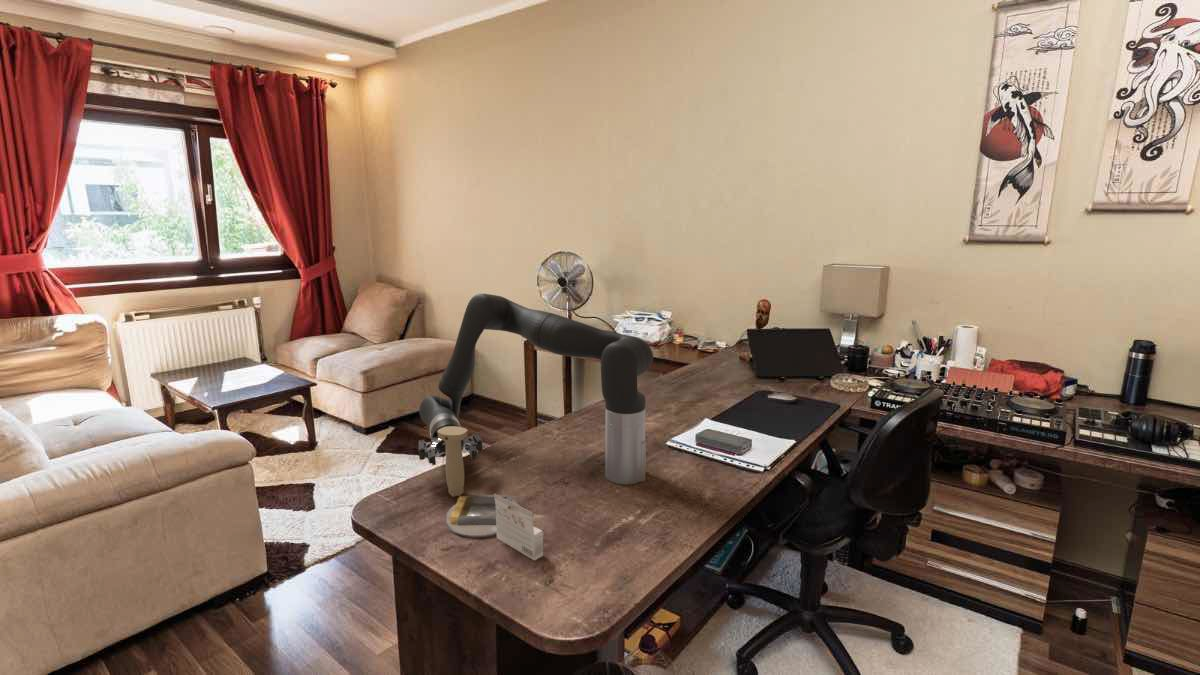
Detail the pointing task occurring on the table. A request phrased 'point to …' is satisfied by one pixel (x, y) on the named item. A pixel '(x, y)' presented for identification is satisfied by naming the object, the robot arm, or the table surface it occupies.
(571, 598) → the table surface
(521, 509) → the ink cartridge box
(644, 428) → the robot arm
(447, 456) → the handle
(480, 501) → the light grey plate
